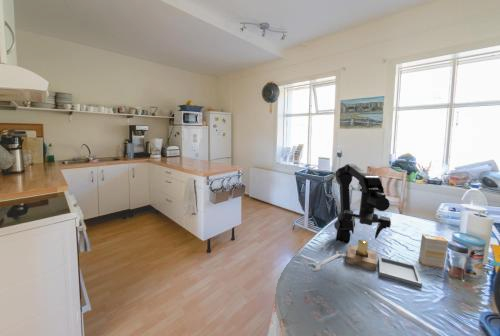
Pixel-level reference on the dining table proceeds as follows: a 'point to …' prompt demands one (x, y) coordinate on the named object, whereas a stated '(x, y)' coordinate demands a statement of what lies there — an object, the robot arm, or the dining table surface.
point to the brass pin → (362, 248)
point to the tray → (399, 272)
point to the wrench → (327, 260)
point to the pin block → (362, 258)
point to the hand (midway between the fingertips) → (363, 236)
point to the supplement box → (433, 251)
